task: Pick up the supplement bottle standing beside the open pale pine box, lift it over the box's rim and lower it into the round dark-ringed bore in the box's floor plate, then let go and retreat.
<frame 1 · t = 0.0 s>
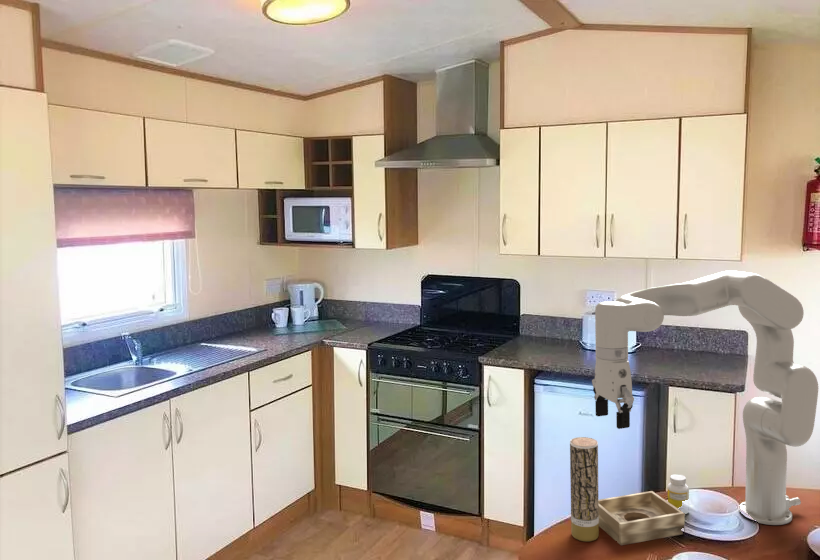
hand: (612, 421, 168), 31 cm above the table, tool pointing down, fingers open, 9 cm apart
brown bark cylinder: (585, 536, 175), on the table
pine box: (637, 526, 179), on the table
supplement bottle: (678, 512, 186), on the table
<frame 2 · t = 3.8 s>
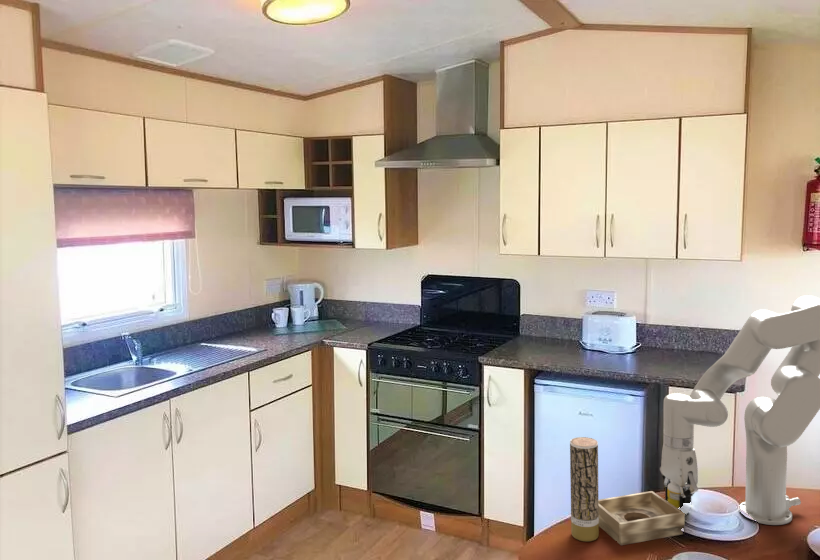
hand: (678, 504, 186), 2 cm above the table, tool pointing down, fingers closed on supplement bottle, 5 cm apart
supplement bottle: (678, 512, 186), on the table, touching gripper
everything else where it was.
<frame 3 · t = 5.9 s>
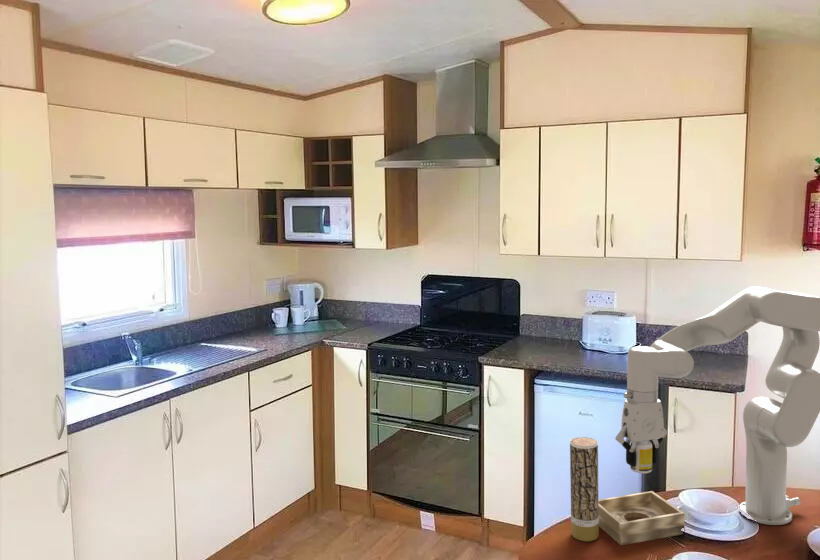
hand: (641, 462, 178), 17 cm above the table, tool pointing down, fingers closed on supplement bottle, 5 cm apart
supplement bottle: (641, 470, 178), point 15 cm above the table, touching gripper
everything else where it was.
when the fingers open (4 cm above the table, at t = 8.3 s): supplement bottle drops 2 cm, resting in pine box.
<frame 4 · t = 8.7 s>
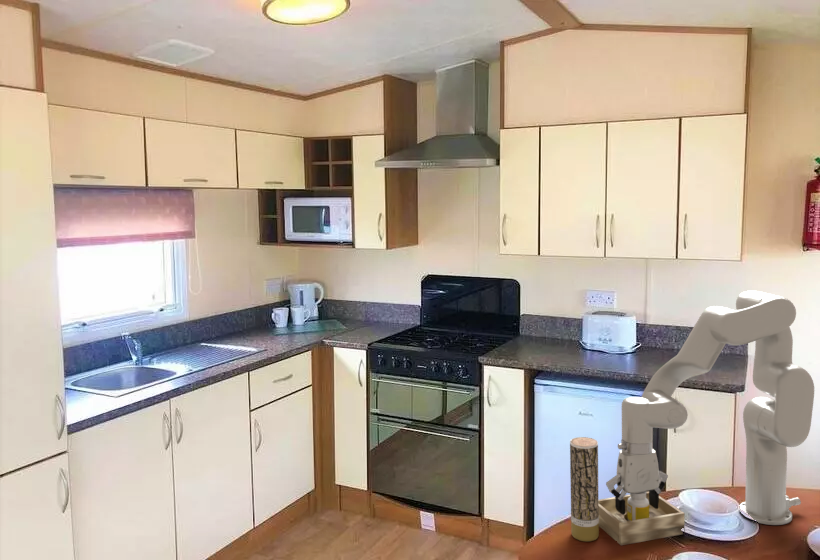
hand: (637, 509, 178), 5 cm above the table, tool pointing down, fingers open, 9 cm apart
supplement bottle: (638, 527, 179), resting in pine box
everything else where it was.
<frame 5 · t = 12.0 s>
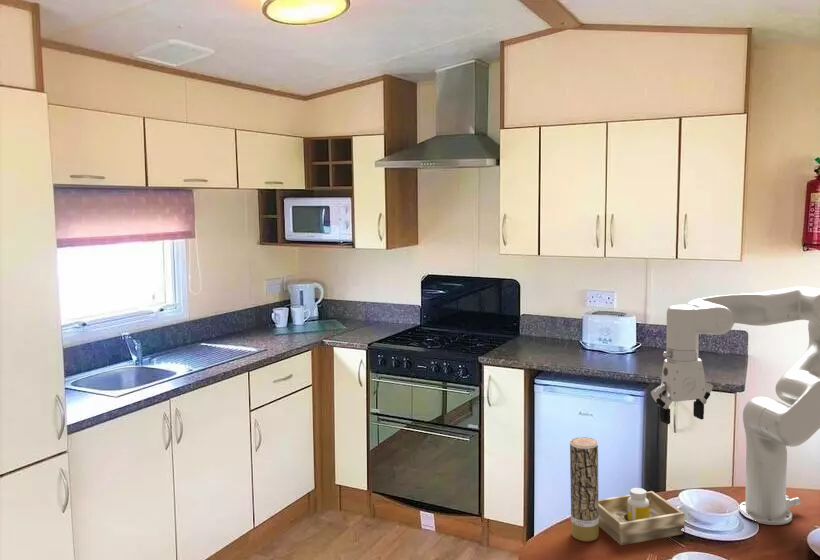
hand: (682, 420, 175), 28 cm above the table, tool pointing down, fingers open, 9 cm apart
nothing on the table moved.
at the end: supplement bottle 0.3 cm off-centre on the pine box, point 0.0 cm above the pine box's base; supplement bottle tilted 0°; the gripper is holding nothing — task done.
